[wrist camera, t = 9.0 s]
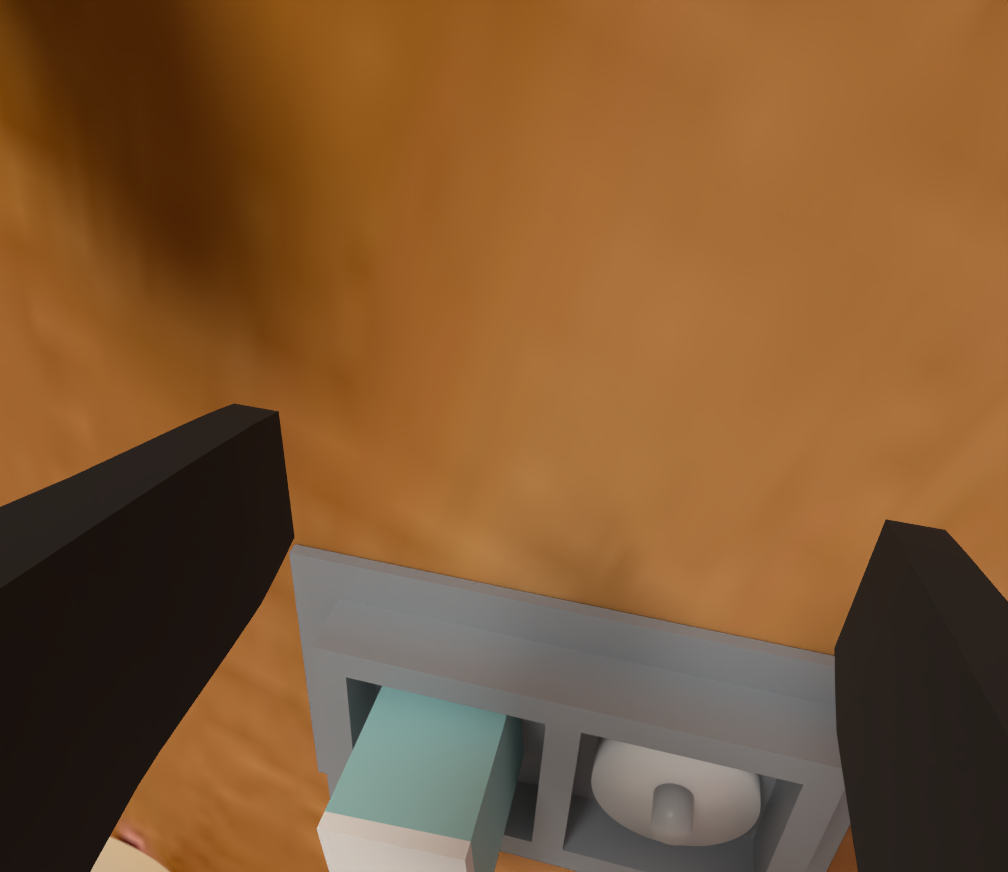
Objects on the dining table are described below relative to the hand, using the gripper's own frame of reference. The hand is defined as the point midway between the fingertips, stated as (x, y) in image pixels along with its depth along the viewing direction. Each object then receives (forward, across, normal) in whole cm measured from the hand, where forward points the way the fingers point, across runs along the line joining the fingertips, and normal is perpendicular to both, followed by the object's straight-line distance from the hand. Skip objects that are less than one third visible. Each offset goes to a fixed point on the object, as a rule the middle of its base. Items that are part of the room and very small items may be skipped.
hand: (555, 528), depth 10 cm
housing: (+9, 0, +16) cm, 19 cm away
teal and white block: (+9, +4, +16) cm, 19 cm away
